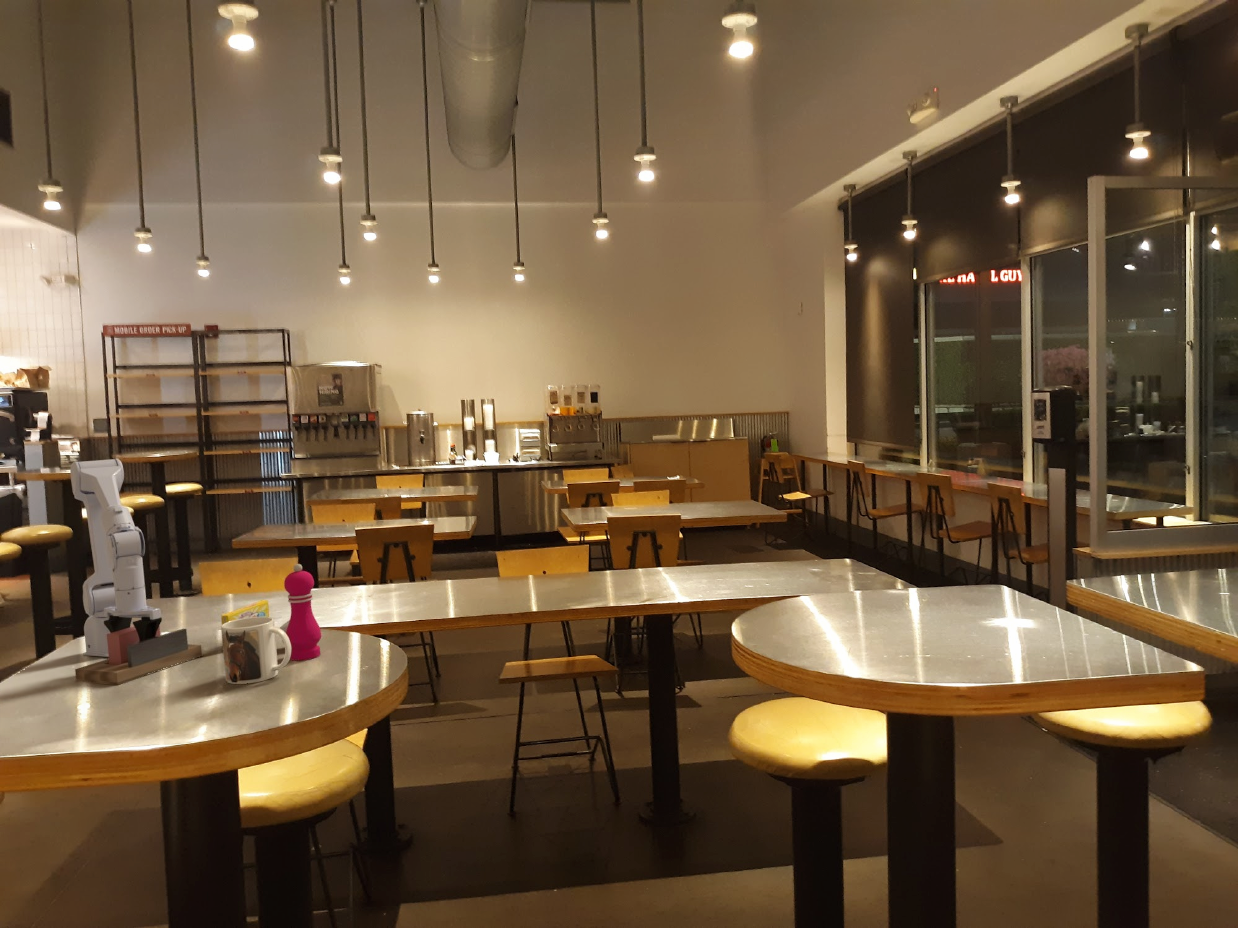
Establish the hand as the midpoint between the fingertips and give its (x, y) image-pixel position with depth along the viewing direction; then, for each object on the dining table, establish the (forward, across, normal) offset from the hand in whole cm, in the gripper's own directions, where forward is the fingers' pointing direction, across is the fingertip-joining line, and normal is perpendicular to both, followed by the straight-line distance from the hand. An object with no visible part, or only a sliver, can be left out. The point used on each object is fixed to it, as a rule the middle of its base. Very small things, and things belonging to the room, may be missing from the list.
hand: (135, 651), depth 199 cm
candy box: (+4, +8, +23) cm, 25 cm away
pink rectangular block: (+3, 0, 0) cm, 3 cm away
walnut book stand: (+4, +1, 0) cm, 4 cm away
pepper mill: (+4, +32, +15) cm, 36 cm away
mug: (+4, +33, 0) cm, 33 cm away
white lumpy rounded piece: (+4, +24, +21) cm, 32 cm away
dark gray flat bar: (+1, +7, 0) cm, 7 cm away
